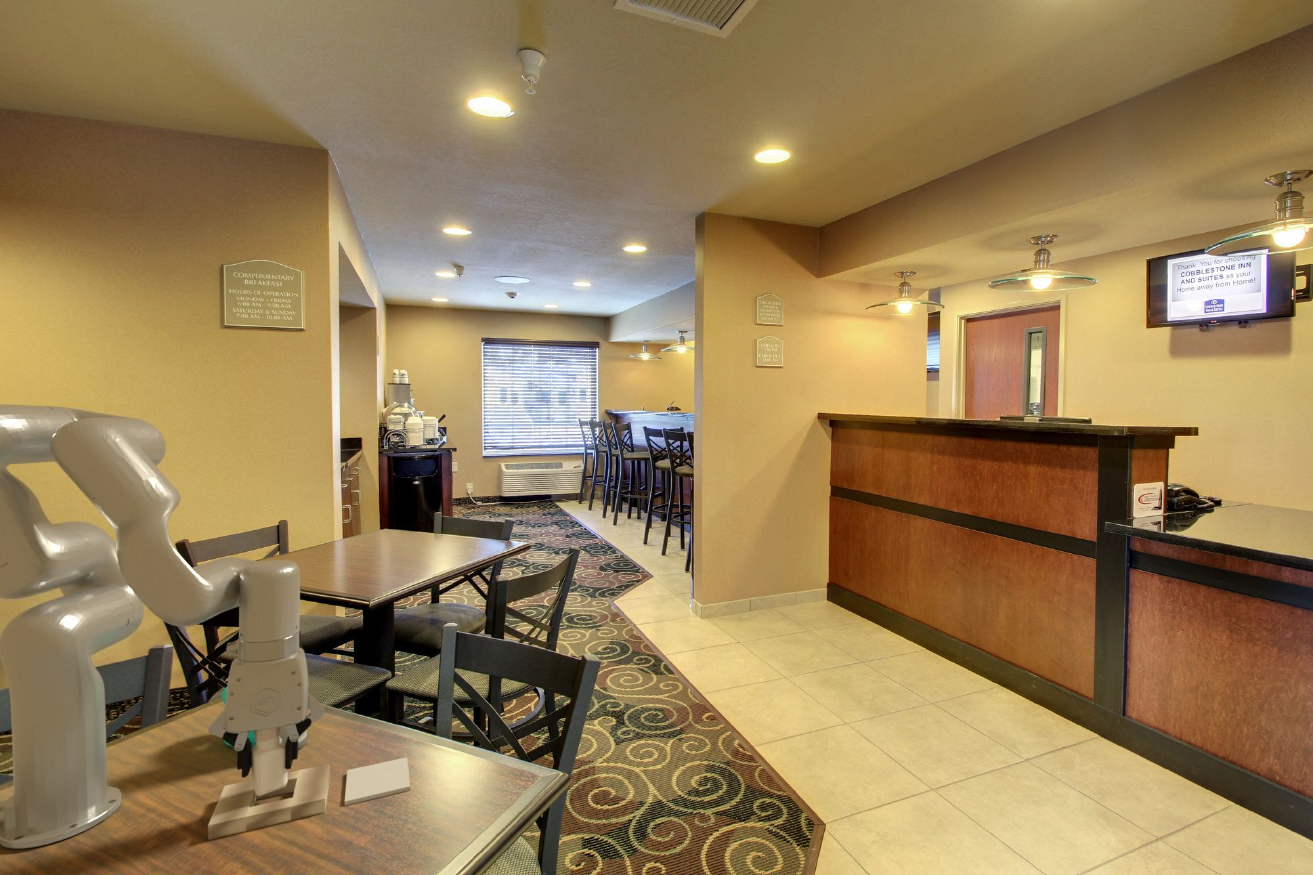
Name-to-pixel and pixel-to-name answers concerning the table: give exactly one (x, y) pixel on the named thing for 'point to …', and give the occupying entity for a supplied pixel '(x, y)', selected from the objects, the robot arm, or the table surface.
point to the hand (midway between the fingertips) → (268, 767)
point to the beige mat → (377, 781)
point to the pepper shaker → (268, 762)
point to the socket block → (240, 798)
